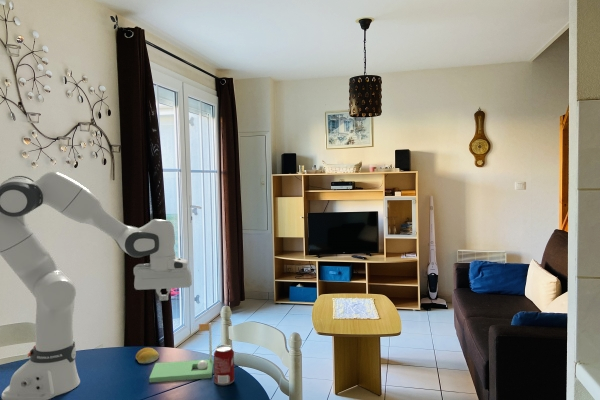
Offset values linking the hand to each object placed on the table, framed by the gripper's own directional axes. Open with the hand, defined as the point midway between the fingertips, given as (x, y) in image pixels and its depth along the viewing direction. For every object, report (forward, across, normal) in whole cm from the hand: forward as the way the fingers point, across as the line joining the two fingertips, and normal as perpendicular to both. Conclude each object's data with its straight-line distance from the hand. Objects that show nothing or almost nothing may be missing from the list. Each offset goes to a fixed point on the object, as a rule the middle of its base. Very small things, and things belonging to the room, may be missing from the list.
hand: (163, 300), depth 159 cm
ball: (+25, +13, -6) cm, 28 cm away
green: (+25, +7, -6) cm, 27 cm away
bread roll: (+26, -8, +8) cm, 28 cm away
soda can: (+25, +22, -16) cm, 37 cm away
